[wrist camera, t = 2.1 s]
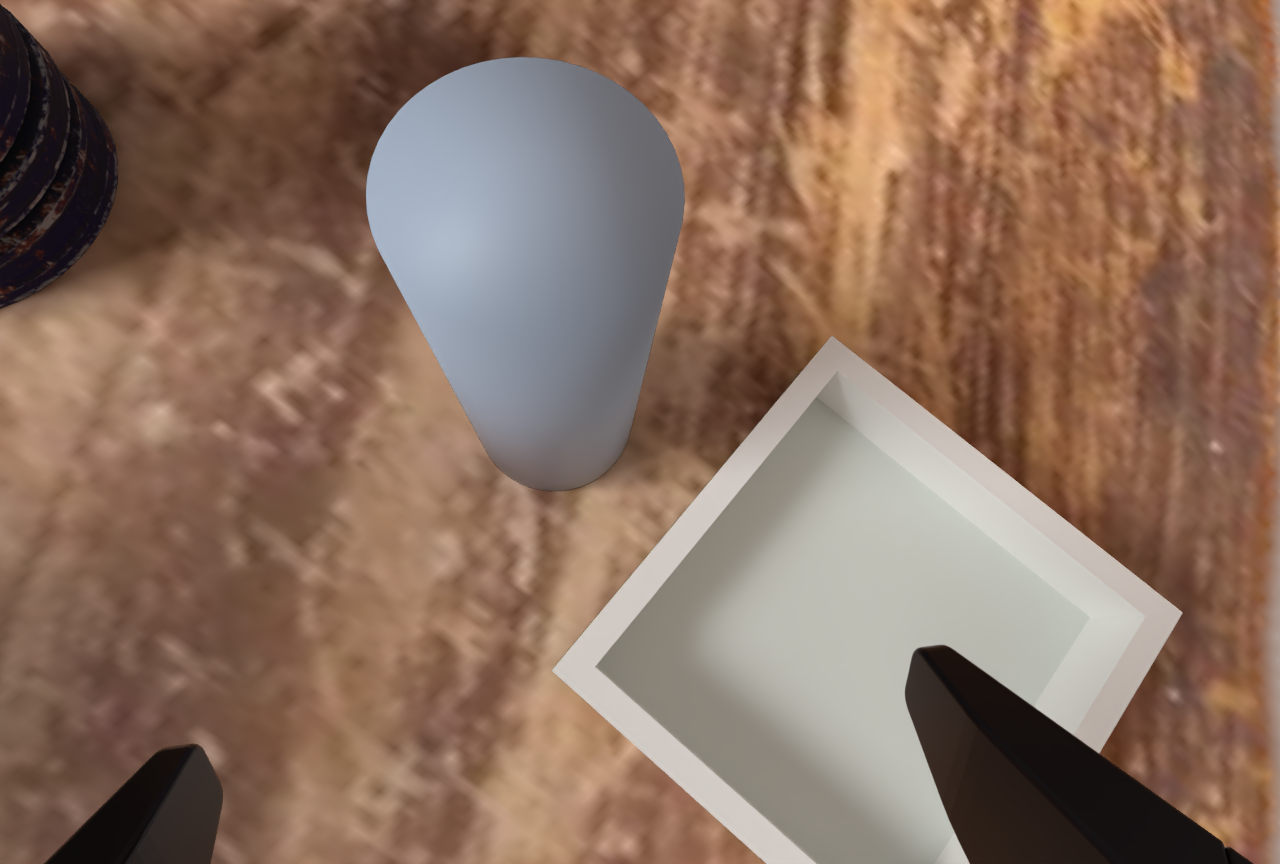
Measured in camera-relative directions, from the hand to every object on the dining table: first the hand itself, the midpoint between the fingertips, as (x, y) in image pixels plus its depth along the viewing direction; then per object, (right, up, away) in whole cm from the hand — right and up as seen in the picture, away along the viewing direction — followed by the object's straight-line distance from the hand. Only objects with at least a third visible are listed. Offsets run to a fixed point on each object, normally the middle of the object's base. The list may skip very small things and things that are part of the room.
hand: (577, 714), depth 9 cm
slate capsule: (-2, +4, +15) cm, 16 cm away
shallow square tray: (+7, -3, +14) cm, 16 cm away
